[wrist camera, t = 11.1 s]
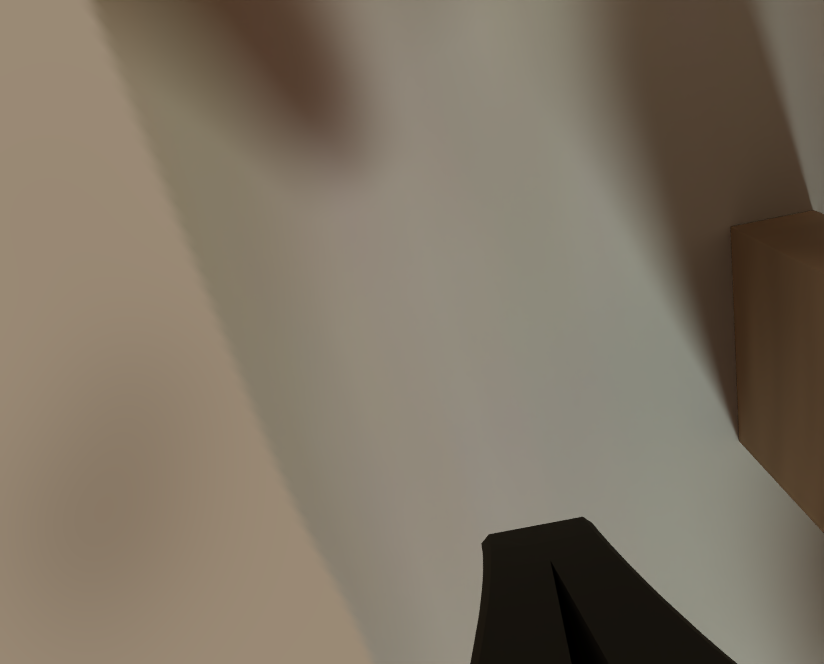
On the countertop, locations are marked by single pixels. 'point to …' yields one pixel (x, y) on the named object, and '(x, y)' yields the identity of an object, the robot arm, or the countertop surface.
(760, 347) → the brown flat rectangular block
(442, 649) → the countertop surface
